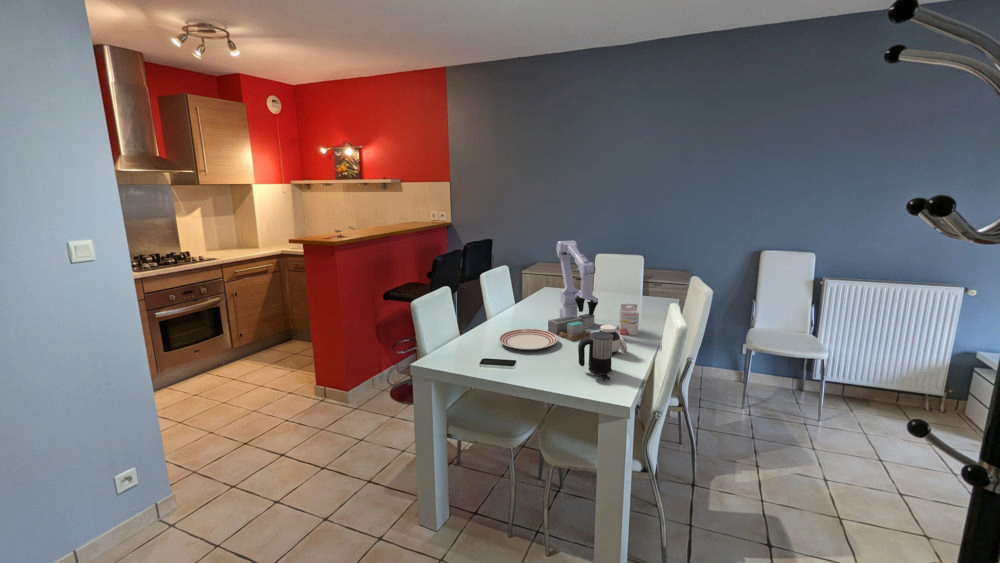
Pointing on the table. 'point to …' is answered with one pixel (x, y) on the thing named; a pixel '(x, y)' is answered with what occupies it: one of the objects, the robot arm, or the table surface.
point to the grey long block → (561, 323)
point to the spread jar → (614, 338)
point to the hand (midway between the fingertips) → (586, 313)
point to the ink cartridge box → (629, 319)
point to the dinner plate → (528, 339)
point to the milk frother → (597, 354)
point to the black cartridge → (587, 320)
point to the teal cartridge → (574, 328)
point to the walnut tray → (575, 337)
